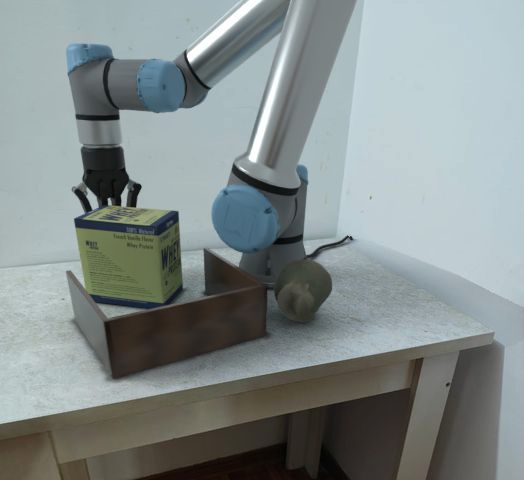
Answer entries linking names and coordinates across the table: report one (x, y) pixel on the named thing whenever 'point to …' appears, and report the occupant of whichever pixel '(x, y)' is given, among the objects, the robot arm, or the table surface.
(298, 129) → the robot arm
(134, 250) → the protein box
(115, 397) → the table surface
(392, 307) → the table surface
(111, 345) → the compartment
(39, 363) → the table surface
